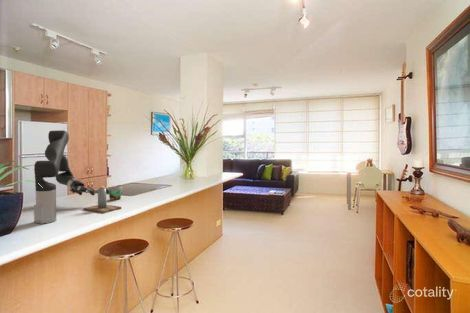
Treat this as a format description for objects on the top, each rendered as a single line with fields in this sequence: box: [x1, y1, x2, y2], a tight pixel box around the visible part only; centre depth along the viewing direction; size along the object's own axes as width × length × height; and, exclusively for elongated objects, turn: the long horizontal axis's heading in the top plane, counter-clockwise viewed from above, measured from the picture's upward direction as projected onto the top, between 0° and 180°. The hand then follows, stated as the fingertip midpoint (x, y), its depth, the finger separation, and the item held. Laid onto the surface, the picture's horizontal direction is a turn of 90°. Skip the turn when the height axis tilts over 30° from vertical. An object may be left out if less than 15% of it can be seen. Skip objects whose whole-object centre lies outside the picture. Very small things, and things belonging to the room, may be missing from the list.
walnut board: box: [82, 204, 122, 214], centre depth 180 cm, size 14×18×1 cm
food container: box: [108, 184, 123, 202], centre depth 211 cm, size 12×6×10 cm, turn 168°
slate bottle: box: [97, 185, 108, 208], centre depth 180 cm, size 5×5×14 cm
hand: (87, 194), depth 182 cm, fingers open, 8 cm apart
